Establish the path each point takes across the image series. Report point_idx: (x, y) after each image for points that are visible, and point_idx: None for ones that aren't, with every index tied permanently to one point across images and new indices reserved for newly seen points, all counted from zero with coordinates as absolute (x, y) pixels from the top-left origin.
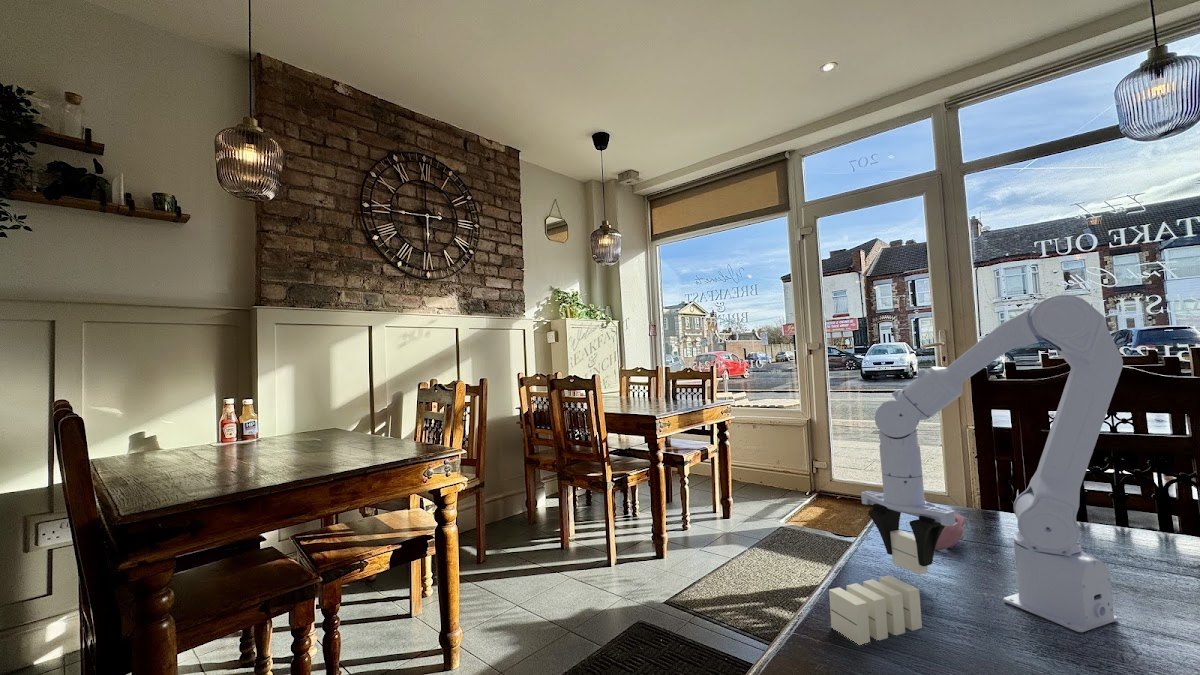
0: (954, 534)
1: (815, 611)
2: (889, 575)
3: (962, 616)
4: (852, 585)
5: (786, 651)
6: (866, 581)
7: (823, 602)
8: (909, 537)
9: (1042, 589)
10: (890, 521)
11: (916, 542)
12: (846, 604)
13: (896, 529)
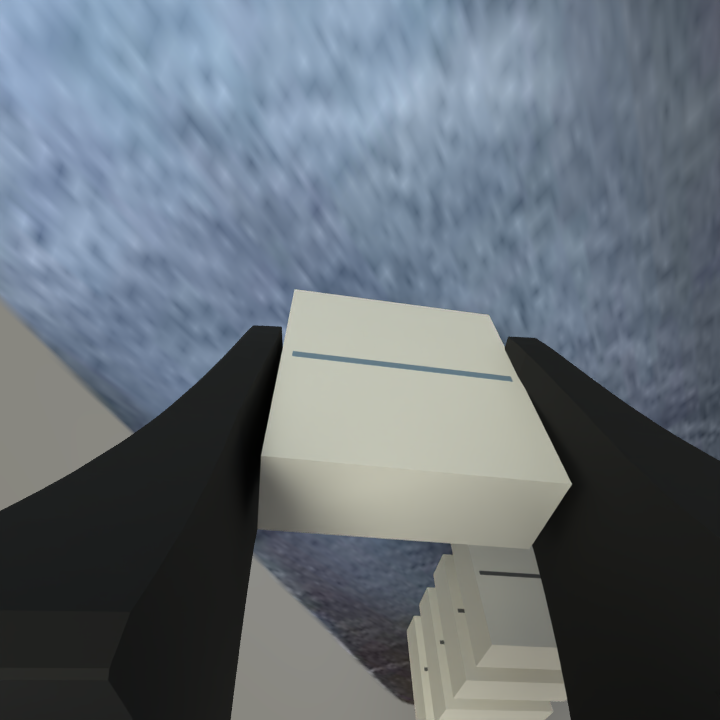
0: None
1: (332, 617)
2: (495, 645)
3: (653, 397)
4: (447, 718)
5: (407, 694)
6: (460, 693)
7: (307, 588)
8: (454, 533)
9: None
10: (221, 604)
11: (541, 566)
12: None
13: (237, 454)
